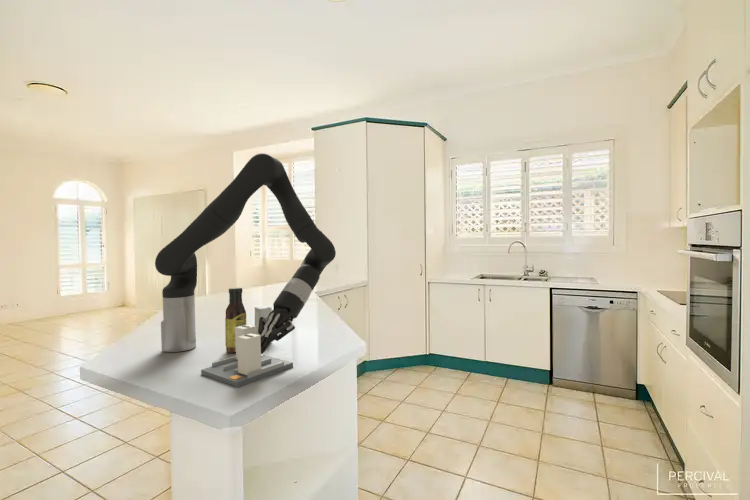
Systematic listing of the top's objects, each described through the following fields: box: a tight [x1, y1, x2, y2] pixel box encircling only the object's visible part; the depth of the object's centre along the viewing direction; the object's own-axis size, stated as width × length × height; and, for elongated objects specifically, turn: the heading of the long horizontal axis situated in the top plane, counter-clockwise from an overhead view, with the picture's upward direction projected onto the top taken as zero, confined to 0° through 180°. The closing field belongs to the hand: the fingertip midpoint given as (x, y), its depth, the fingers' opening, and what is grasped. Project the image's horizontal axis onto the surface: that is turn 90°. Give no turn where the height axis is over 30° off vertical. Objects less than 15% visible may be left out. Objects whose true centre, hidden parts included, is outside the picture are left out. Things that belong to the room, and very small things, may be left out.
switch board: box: [200, 354, 294, 388], centre depth 98 cm, size 17×16×2 cm
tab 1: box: [235, 324, 256, 360], centre depth 103 cm, size 4×4×9 cm
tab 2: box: [237, 333, 261, 375], centre depth 93 cm, size 4×4×9 cm
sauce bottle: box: [224, 287, 247, 354], centre depth 117 cm, size 7×6×20 cm
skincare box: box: [254, 305, 273, 338], centre depth 127 cm, size 6×4×12 cm
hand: (257, 351), depth 95 cm, fingers closed
